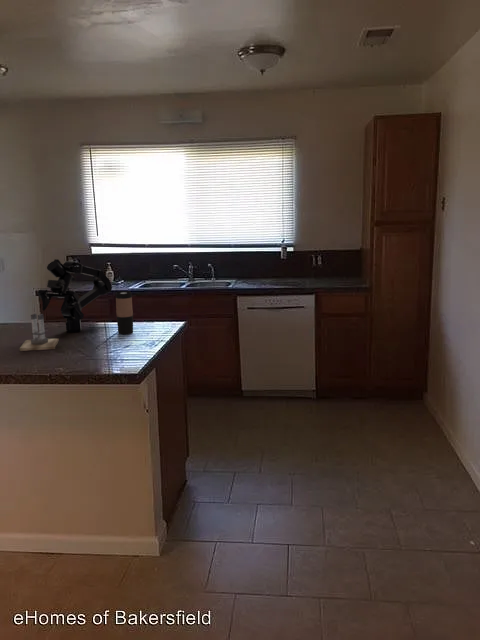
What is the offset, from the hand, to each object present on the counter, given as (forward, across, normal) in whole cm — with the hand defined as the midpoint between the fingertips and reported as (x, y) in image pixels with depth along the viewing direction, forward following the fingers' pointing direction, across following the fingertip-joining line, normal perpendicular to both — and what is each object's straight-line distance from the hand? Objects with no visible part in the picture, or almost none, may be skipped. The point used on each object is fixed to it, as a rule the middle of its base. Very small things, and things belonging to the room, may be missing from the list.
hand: (52, 310), depth 242 cm
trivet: (+18, 0, +1) cm, 18 cm away
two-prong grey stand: (+17, 0, 0) cm, 17 cm away
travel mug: (-2, +28, +22) cm, 35 cm away
